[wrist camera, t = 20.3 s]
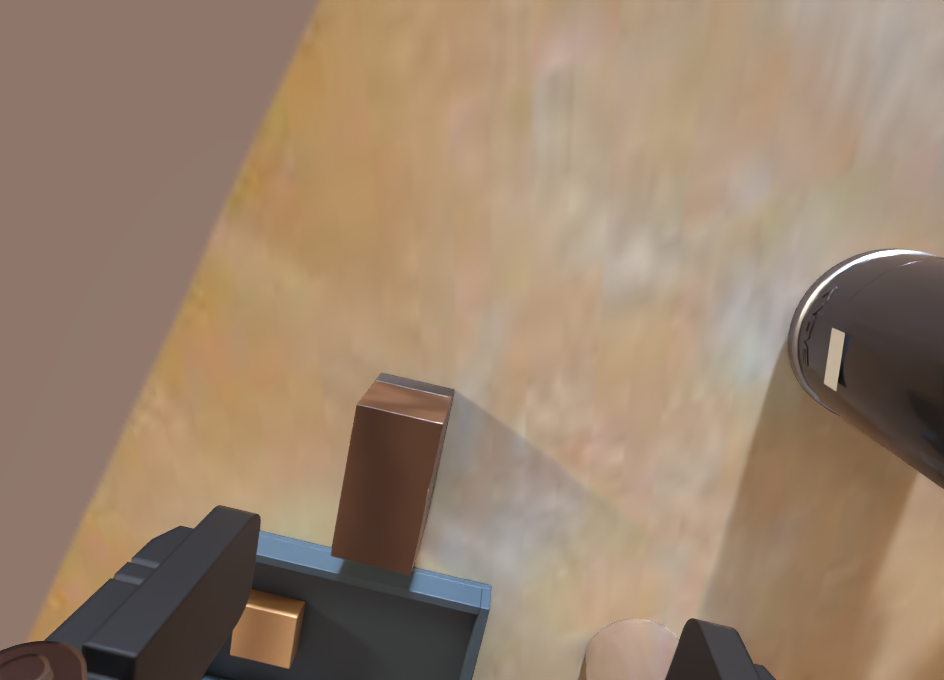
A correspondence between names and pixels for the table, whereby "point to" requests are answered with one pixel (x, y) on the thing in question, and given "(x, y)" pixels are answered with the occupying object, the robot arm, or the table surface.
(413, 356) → the table surface
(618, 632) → the metal cup with straw
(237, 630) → the copper square block
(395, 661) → the tray
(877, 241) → the table surface
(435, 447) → the brown long rectangular block
